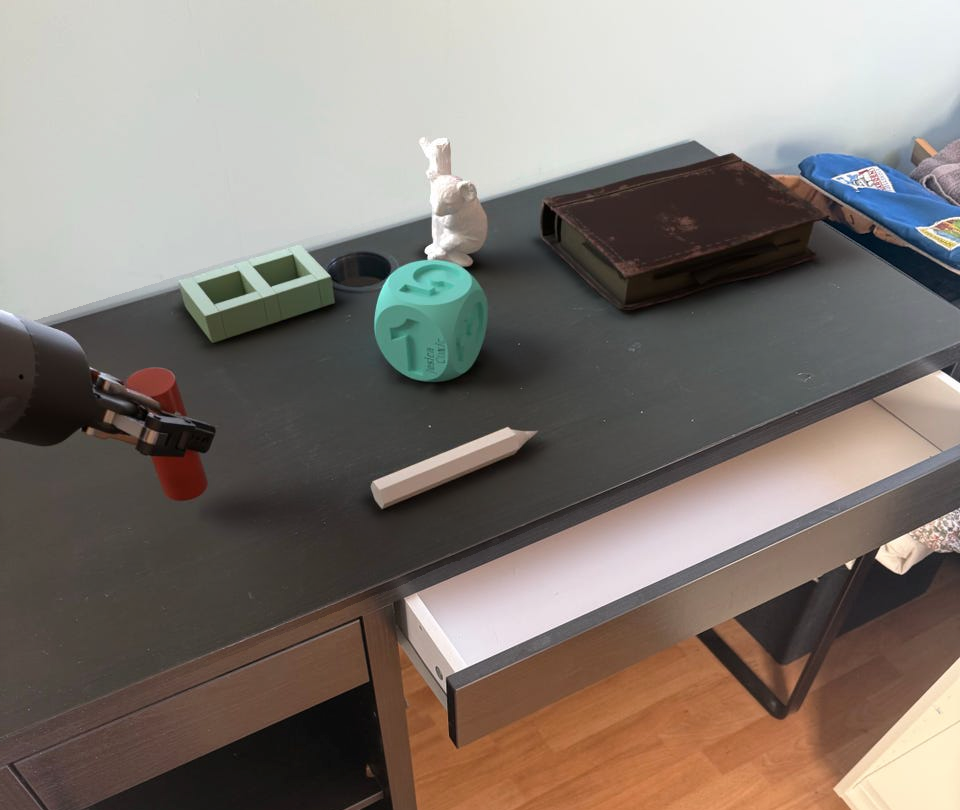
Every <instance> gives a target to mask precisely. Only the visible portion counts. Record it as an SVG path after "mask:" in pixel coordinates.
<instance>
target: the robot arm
mask: <svg viewBox="0 0 960 810" xmlns="http://www.w3.org/2000/svg"><path fill="white" fill-rule="evenodd" d="M125 385H126V384H124V382H123V380H121V379H120V378H117V377H115V376H113V375H111V374H109V373H106V372H102V371H99V370H97V369H95V368H93V367H91V366H90V364H89V360H88V357H87V355H86V353H85V351H84V349H83V348H82V346H81V345H80V343H79V342H78V341H77V340H76V339H75V338H73V337H72V336H71V335H70V334H68V333H67V332H65V331H63V330H60V329H56V328H54V327H51V326H48V325H46V324H44V323H40V322H37V321H35V320H32V319H29V318H26V317H24V316H20V315H17V314H14V313H13V312H9V311H6V310H3V309H1V308H0V439H4V440H7V441H8V440H9V441H13V442H18V443H23V444H27V445H31V446H36V447H53V446H56V445H58V444H60V443H63V442H64V441H66V440H67V439H69V438H70V437H71V436H73V434H76V432H77V431H79V432H81V433H83V434H85V435H88V436H90V437H93V438H97V439H100V440H109V439H113V440H117V441H120V442H123V443H126V444H130V445H133V446H135V448H134V449H135V451H138V453H139V454H141V455H143V456H146V457H147V456H150V457H151V456H163V457H184V455H185V453H186V450H187V449H188V450H192V451H196V452H198V453H199V454H206V453H207V452H209V450H210V449H211V446H212V444H213V441H214V438H215V436H216V433H217V432H216V431H217V429H216V427H215V426H213V425H212V424H210V423H208V422H205V421H202V420H200V419H199V420H198V419H195V418H192V417H189V416H187V417H185V416H182V415H181V413H178V412H176V411H174V412H172V411H169V410H166V409H163V408H161V406H160V404H159V402H157V401H156V400H154V399H152V398H151V397H149V396H147V395H144V394H141V393H138V392H136V391H133V390H130V389H127V388H126V387H125ZM136 402H138V403H140V409H138V403H136Z"/></svg>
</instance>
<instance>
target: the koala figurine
mask: <svg viewBox="0 0 960 810" xmlns="http://www.w3.org/2000/svg"><path fill="white" fill-rule="evenodd" d="M418 142H419V144H420V146H421V148H422V151H423V153H424V155H425V157H426V158H427V159H428V160H429V168H428V170H427V171H426V176H427V178H428V181H430V193H431V194H430V196H429V204H430V205H431V207H432V208H431V237H432V243H431V244H429V245H428V246H426V247H425V249H424V254H425V255H427V260H441V261H447V262H451V263H454V264H456V265H459V266H461V267H462V268H466V267H467V268H468V267H471V266H472V264H473V262H474V260H473V259H472V257H471V256H470V255H469V254H474V253H476V252H478V251H479V250H481V248H482V247H483V246H484V244H485V242H486V239H487V236H488V226H489V225H488V217H487V214H486V211H485V210H484V208H483V206H482V204H481V201H480V200H479V197H478V192H477V188H476V186H475V184H474V183H472V181H470V180H463V179H462V177H460V176H458V175H454V174H453V175H452V159H451V158H452V149H451V142H450V141H449V138H446V137H443V138H442V137H440V138H437V139H434V141H432V142H431V141H430V140H429V138H428V137H425V136H423V137H421V138H420V139H419V141H418Z"/></svg>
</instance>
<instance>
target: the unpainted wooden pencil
mask: <svg viewBox="0 0 960 810" xmlns="http://www.w3.org/2000/svg"><path fill="white" fill-rule="evenodd" d="M538 432H539V430H518V429H511V427H509V426H506V427H503V428H501V429H498V430H497V431H494V432H492V433H489V434H487V435H484V436H481V437H479V438H477V439H475V440H472V441H469V442H466V443H464V444H461V445H459V446H457V447H454V448H452V449H449V450H447V451H445V452H441V453H439V454H437V455H435V456H432V457H430V458H427V459H425V460H422V461H419V462H417V463H415V464H411V465H410V466H407V467H405V468H402V469H400V470H397V471H395V472H392V473H389V474H388V475H385V476H382V477H380V478H377V479H374V480H373V481H372V482H371V484H370V490H371V492H372V495H373V498H374V501H375V502H376V504H377V505H378V506H379V507H380V509H382V510H383V509H386V508H388V507H390V506H393V505H395V504H398V503H400V502H402V501H405V500H407V499H410V498H412V497H414V496H417V495H419V494H422V493H424V492H427V491H429V490H431V489H433V488H436V487H438V486H441V485H443V484H446V483H449V482H451V481H453V480H456V479H458V478H461V477H464V476H465V475H467V474H470V473H473V472H475V471H477V470H480V469H482V468H484V467H487V466H490V465H492V464H494V463H496V462H499V461H501V460H504V459H506V458H508V457H511V456H514V455H515V454H517V452H518V451H519V450H520V449H521V448H522V447H523V446H524V444H526V443H527V442H528V441H529V440H530V439H531V438H532V437H534V436H535V435H536V434H537V433H538Z"/></svg>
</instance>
